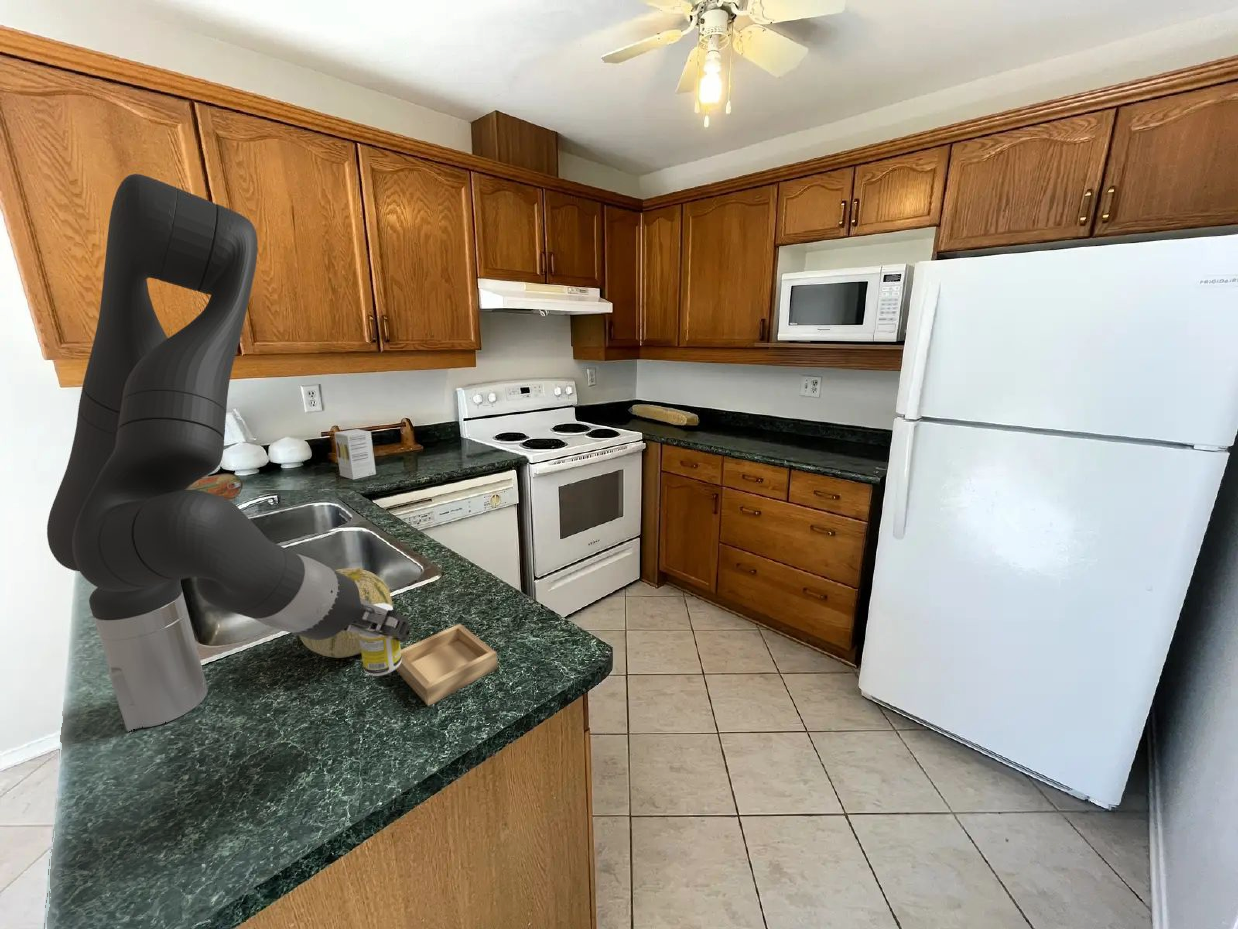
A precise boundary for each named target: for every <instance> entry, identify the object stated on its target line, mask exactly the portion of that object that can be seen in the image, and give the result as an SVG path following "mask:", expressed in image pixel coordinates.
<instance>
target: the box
mask: <svg viewBox="0 0 1238 929" xmlns="http://www.w3.org/2000/svg"><path fill="white" fill-rule="evenodd" d="M401 656H402V661H401V664H400V665H399V667H398V668H396V669H395V670H394V671H396V672H397V673H398V674H399V675H400V676H401V678H402V679H403V680H404V681H405V682H406V683H407V684H408V685H409V686H410V688H412V690H413V691H414V692H415V694H417V695H418V696H419V697H420V699H421V700H422V701H423V702H424V703H425V704H426V705H427V706H428V707H429V706H431V705H433V704H435V703H438V702H439V701H441V700H442V699H444V698H446V697H448V696H450V695H451V694H453V693H455V692H457V691H459V690H461V689H463V688H464V687H467V686H468V685H470V684H471V683H473V682H476V681H477V680H479V679H481V678H482V677H485V676H487V675H488V674H490V673H492V672H494V671H495V670H498V668H499V667H498V666H499V665H498V663H499V662H498V653H497V651H495V649H493V648H491V646H489V645H488V644H486V643H485V642H484V641H483V640H482V639H480V638H479V637H478V636H476V635H475V634H474V633H472V632H471V631H470V630H468V629H467V628H466V627H465V626H464V625H462V624H461V623H458V624H455V625H454V626H451V627H449V628H447V629H445V630H442V631H440V632H438V633H436V634H433V635H431V636H428V637H427V638H424V639H422V640H420V641H418V642H416V643H413V644H411V645H408V646H406V647H404V648H401Z"/></svg>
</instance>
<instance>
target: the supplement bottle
mask: <svg viewBox="0 0 1238 929" xmlns="http://www.w3.org/2000/svg"><path fill="white" fill-rule="evenodd" d="M374 605H375V606H378V607H380V608H383V609H386V610H387V611H388V610H394V607H393V608H392V606H391V605H389V604H386V603H379V604H374ZM371 625H372V624H371ZM370 627H371V626H370ZM370 627H369V628H367V629H366V630H369V629H370ZM359 639H360V646H361V653H360V654H361V661H362V664H363V665H362V666H363V671H364V672H365V674H367V675H369V676H372V677H379V676H385V675H388V674H390V673H392V672H394V671H396V670H395V669H396V668H398V667H399V665H400V664H401V661H402V656H401V650H402V648H401V642H400V641H397V640H394V639H392V638H389V639H388V638H385V636H381V635H379V636H377V637H371V636H367V635H363V634H360V633H359Z"/></svg>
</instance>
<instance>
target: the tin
mask: <svg viewBox="0 0 1238 929" xmlns="http://www.w3.org/2000/svg"><path fill="white" fill-rule="evenodd" d="M243 487H244V485H243V481H242V480H241V478H240V477H238V476H237V475H236V474H232V473H221V474H216V475H212V476H211V475H210V476H205V477H203V478H201V479H199V480H197V481H196V482H194V483H193V484H192V485H190V486H189V487H188V488H187V489H186V490H199V491H204V492H209V493H212V494H216V495H218V496H221V497H223V498H225V499H227V500H231V499H234V498H237V496H239V495H240V494H241V492H242V490H243Z"/></svg>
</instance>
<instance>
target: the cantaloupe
mask: <svg viewBox="0 0 1238 929" xmlns="http://www.w3.org/2000/svg"><path fill="white" fill-rule="evenodd" d="M334 570H335V571H337V572H339V573H341V574H343V575H345V576H347V577H349V578H351V579H352V580H353V581H354V582H355V583H356V585H357V587H358V589H359V594H360V598H362V599H365V600H367V601H370V603H371V604H372V605H374V604H379V603H386V604H389V605H391V606H392V608H393V609H394V606H393V601H392V600H393V599H392V597H391V596H392V595H391V591H390V588H389V587H388V585H387V583H385V581H384V580H383V579H381V577H379V576H378V575H376V574H375V573H373V572H371V571H368V570H365V569H362V568H361V567H357V568H355V567H354V568H353V567H347V568H345V567H344V568H340V569H334ZM299 638H300V640H301V642H302V643H303V645H304V646H305V647H306V648H308V650H310V651H311V652H315V653H316V654H318V655H321V656H324V657H329V658H335V659H340V658H341V659H342V658H349V657H353V656H356V655H359V654H362V653H361V646H360V639H359V633H349V632H346V631H341V632H339V633H338V634H336V635H335V636H333V637H330V638H327V639H323V640H313V639H309V638H306V637H302V636H299Z"/></svg>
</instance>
